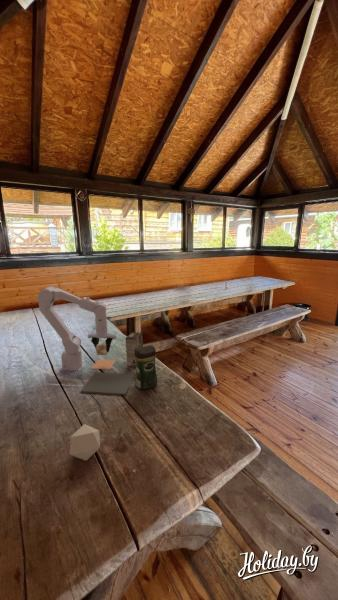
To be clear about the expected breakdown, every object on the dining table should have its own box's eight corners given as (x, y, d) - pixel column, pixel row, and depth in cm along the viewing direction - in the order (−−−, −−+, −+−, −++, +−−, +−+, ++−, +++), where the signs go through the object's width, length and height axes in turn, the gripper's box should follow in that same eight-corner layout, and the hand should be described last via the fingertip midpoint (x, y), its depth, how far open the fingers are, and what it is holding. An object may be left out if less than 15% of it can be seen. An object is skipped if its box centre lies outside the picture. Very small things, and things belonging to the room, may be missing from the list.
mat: (80, 392, 106) (80, 390, 106) (95, 373, 122) (95, 372, 122) (125, 395, 104) (125, 393, 104) (134, 375, 120) (134, 374, 120)
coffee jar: (151, 377, 118) (151, 341, 114) (159, 385, 111) (159, 347, 107) (133, 383, 113) (131, 346, 109) (139, 392, 107) (138, 352, 102)
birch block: (96, 354, 127) (96, 345, 126) (100, 350, 132) (99, 341, 131) (106, 355, 126) (105, 346, 125) (109, 351, 131) (108, 342, 130)
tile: (91, 369, 126) (91, 368, 126) (98, 360, 136) (98, 359, 136) (109, 370, 125) (109, 369, 125) (116, 361, 135) (116, 360, 135)
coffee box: (132, 358, 138) (131, 331, 134) (143, 359, 137) (142, 332, 133) (126, 366, 129) (125, 337, 125) (138, 367, 128) (137, 338, 124)
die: (82, 440, 81) (62, 429, 75) (106, 427, 81) (87, 415, 75) (82, 468, 75) (60, 459, 69) (108, 454, 74) (87, 443, 68)
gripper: (117, 324, 129) (118, 348, 132) (91, 323, 130) (92, 347, 133) (113, 329, 122) (114, 354, 125) (85, 328, 124) (87, 352, 127)
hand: (103, 351), depth 129 cm, fingers closed on birch block, 5 cm apart
